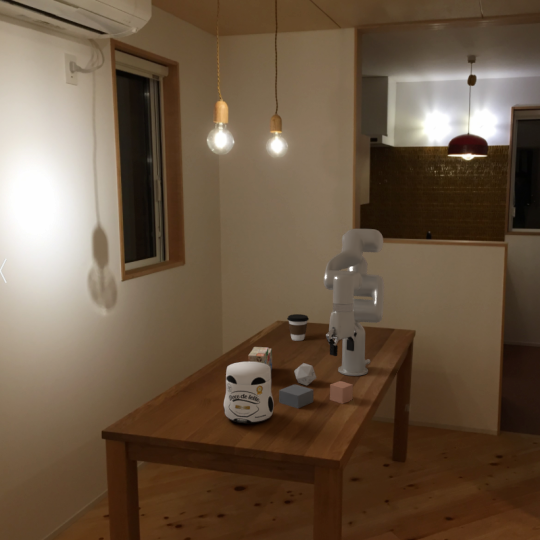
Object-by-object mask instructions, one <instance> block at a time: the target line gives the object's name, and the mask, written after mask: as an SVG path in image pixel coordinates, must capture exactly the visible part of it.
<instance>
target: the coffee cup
mask: <svg viewBox="0 0 540 540" xmlns="http://www.w3.org/2000/svg"><path fill="white" fill-rule="evenodd" d="M286 319H287V321H288V326H289V332H290V337H291V340H292V341H296V342H297V341H298V342H299V341H303V340H304V339H305V338H306V333H307V329H308V328H307V327H308V321H309V316H308V315H306V314H301V313H298V314H297V313H296V314H295V313H294V314H290V315H288V316H287V318H286Z"/></svg>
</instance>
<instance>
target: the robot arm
mask: <svg viewBox="0 0 540 540" xmlns="http://www.w3.org/2000/svg"><path fill="white" fill-rule="evenodd" d="M341 245H342V246H341V252H339V253H337V254H336V255H334V256H332V258H331V259H329V261H328V262H327V263H326V266H325V270H324V274H323V285H324V287H325V289H327V290H329V291H332V311H331V313H330V317H329V327H328V332H327V333H326V334H325V337H326V341H327V342H328V345H329V355H330V356H333V357H337V356H338V352H339V351H338V348H339V347H338V345H337V344H338V342H339V341H340V340H342V346H341V347H342V348H341V349H342V351H341V352H342V353H341V354H342V356H341V357H342V358H341V366H339V367H338V368H337V369H338V370H337V371H338V373H340V374H342V375H345V376H353V377H354V376H355V377H357V376H358V377H359V376H360V377H361V376H364V375H366V374H368V373H369V370H368V368H367V367H366V366H367V365H368V364H370V363H371V359H369V358H367V359H366V358H365V357H366V356H365V355H366V354H365V353H366V330H365V328H364V326H363V325H362V324H361V323H375V324H376V323H380V322H381V321H382V320H383V315H384V302H385V301H384V300H385V299H384V297H385V281H384V279H383V277H382V276H381V275H379V274H368V262H367V260H366V258H365V257H364V255H363V253H380V252H381V251H382V249H383V248H384V247H383V246H384V237H383V235H382V233H381V232H380V230H377V229H372V228H351V229H349V230H347V231H346V232H345V233H344V234H342V236H341ZM345 269H347V270H345ZM354 297H366V298H367V297H368V298H372V299H365V298H364V299H363V298H354Z"/></svg>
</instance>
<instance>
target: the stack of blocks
mask: <svg viewBox="0 0 540 540" xmlns="http://www.w3.org/2000/svg"><path fill="white" fill-rule="evenodd" d="M272 352H273V349H272V348H269V347H262V346H254V347H253V348H252V350H251V351H250V353H249V354H248V355H247V357H248V361H247V362H260V363H264V364H267V365H268V366H270V370H271V371H272V370H273V353H272Z"/></svg>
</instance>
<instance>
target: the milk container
mask: <svg viewBox="0 0 540 540" xmlns="http://www.w3.org/2000/svg"><path fill="white" fill-rule="evenodd" d="M225 371H226V372H225V374H226V375H225V395H224V399H223V411H224V415H225V416H226V418H227V419H228V420H230V421H232V422H234V423H238V424H247V425H248V424H249V425H250V424H258V423H262V422H265V421H266V420H268V419H270V418H271V417H272V415H273V412H274V406H275V404H274V402H275V401H274V397H273V393H272V370H270V366H268V365H267V364H264V363H260V362H248V361H240V362H234V363H231V364H229V365H227V367H226V370H225Z"/></svg>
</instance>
